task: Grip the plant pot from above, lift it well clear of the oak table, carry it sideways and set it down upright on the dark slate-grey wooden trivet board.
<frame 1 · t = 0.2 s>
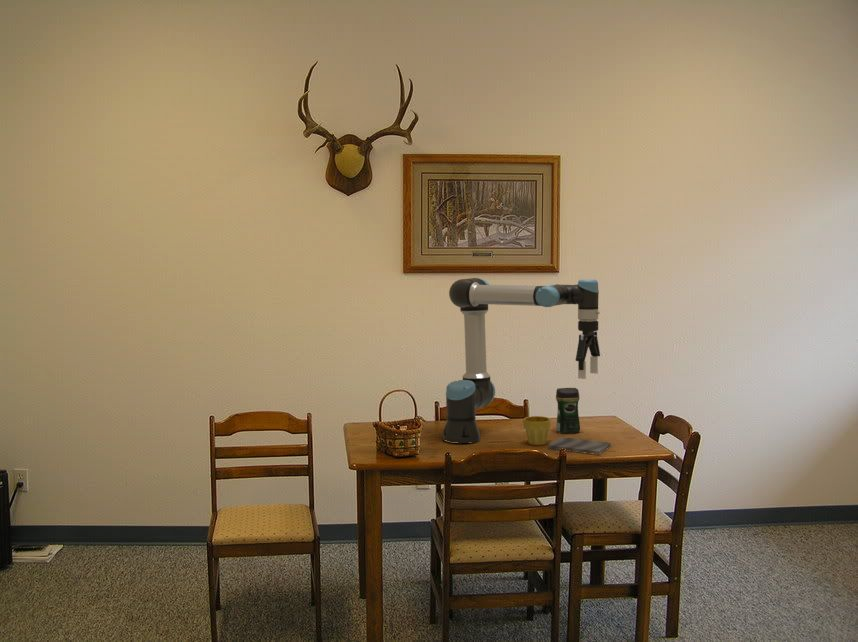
hand: (588, 375, 274), 27 cm above the table, tool pointing down, fingers open, 13 cm apart
plant pot: (537, 443, 283), on the table
coffee jar: (567, 432, 300), on the table
trivet board: (579, 447, 275), on the table
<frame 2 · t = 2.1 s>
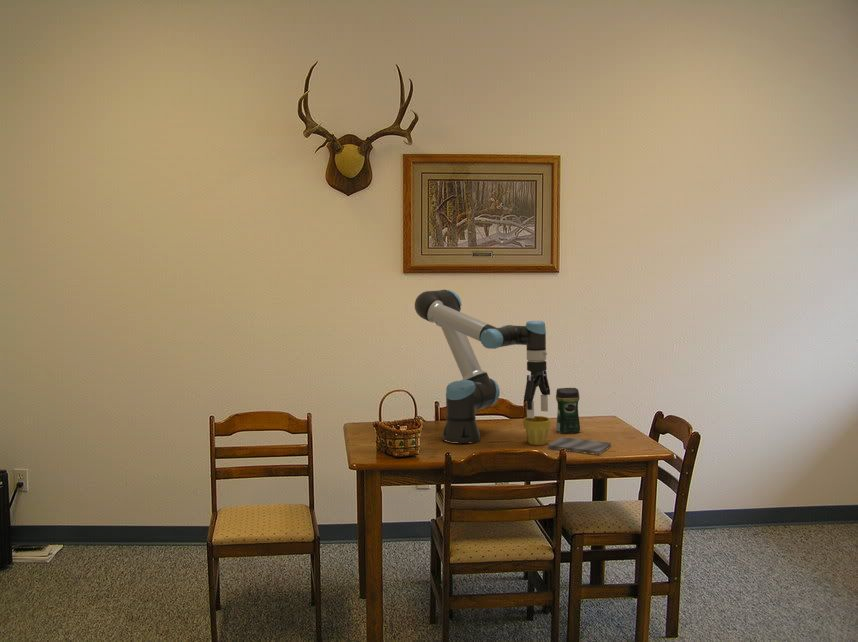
hand: (537, 414, 282), 11 cm above the table, tool pointing down, fingers open, 13 cm apart
nothing on the table moved.
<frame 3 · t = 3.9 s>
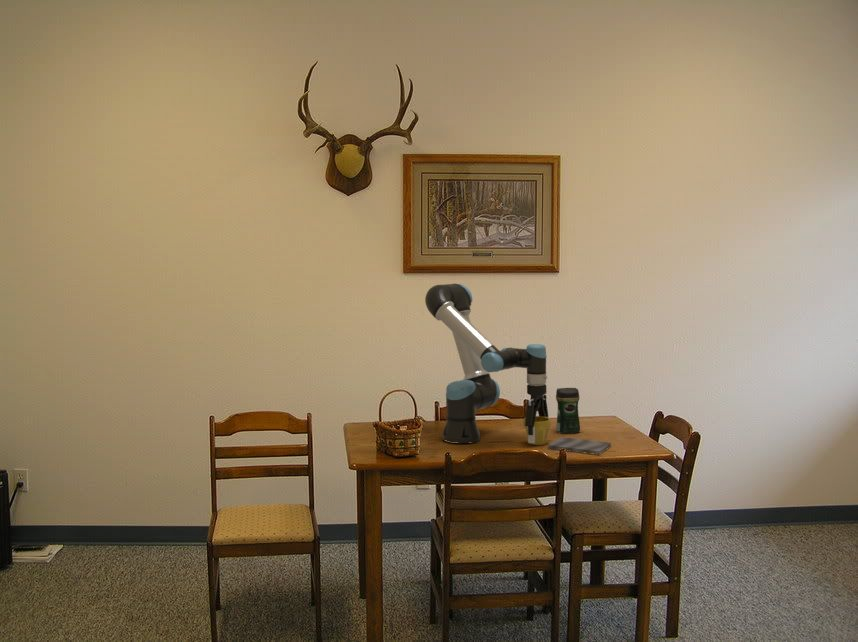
hand: (537, 439, 283), 1 cm above the table, tool pointing down, fingers closed on plant pot, 10 cm apart
plant pot: (537, 443, 283), on the table, touching gripper
everything else where it was.
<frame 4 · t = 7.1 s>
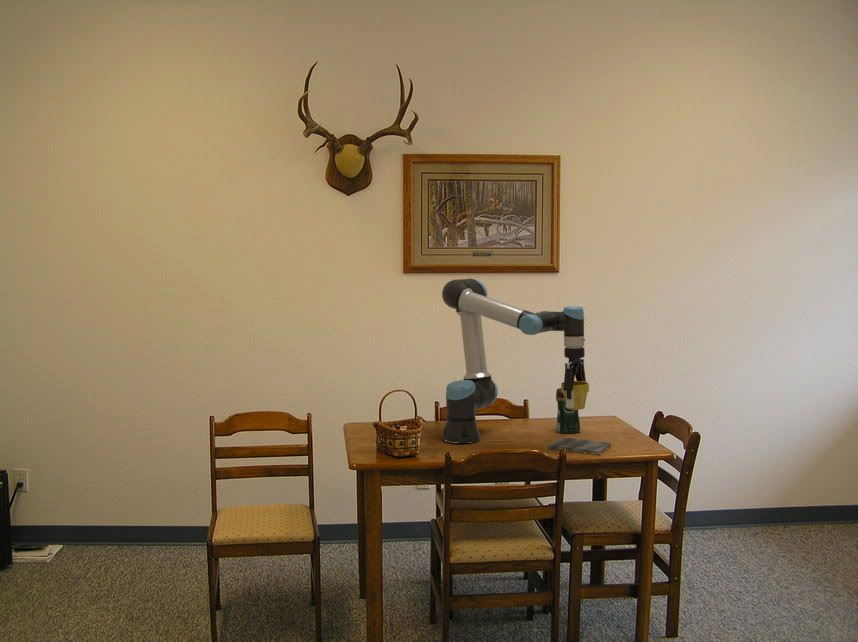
hand: (575, 404, 274), 16 cm above the table, tool pointing down, fingers closed on plant pot, 10 cm apart
plant pot: (575, 408, 274), point 15 cm above the table, touching gripper
everything else where it was.
when the fingers open (4 cm above the table, at t = 10.4 s): plant pot drops 1 cm, resting on trivet board.
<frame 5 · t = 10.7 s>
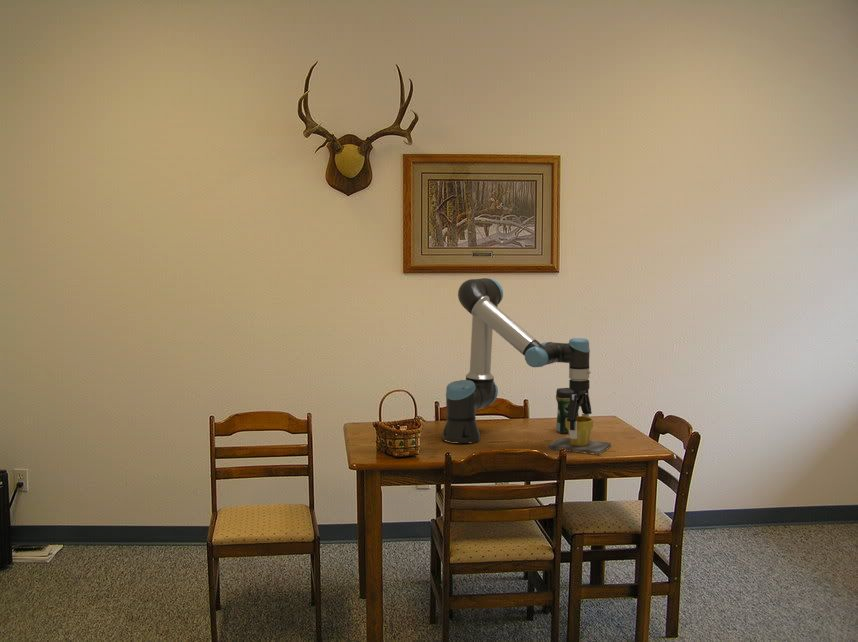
hand: (579, 434, 274), 5 cm above the table, tool pointing down, fingers open, 13 cm apart
plant pot: (579, 444, 274), point 1 cm above the table, touching trivet board
everything else where it was.
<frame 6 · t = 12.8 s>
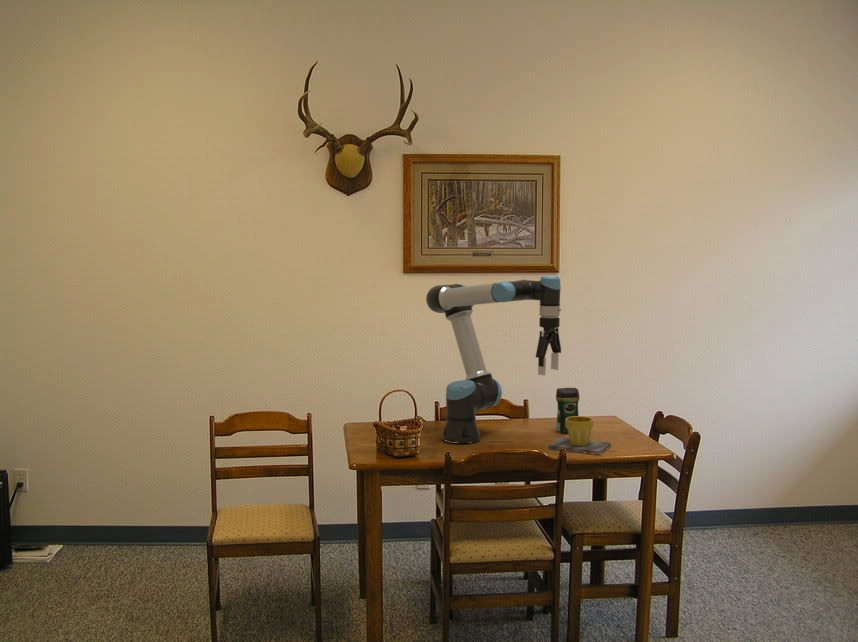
hand: (548, 372, 275), 29 cm above the table, tool pointing down, fingers open, 13 cm apart
nothing on the table moved.
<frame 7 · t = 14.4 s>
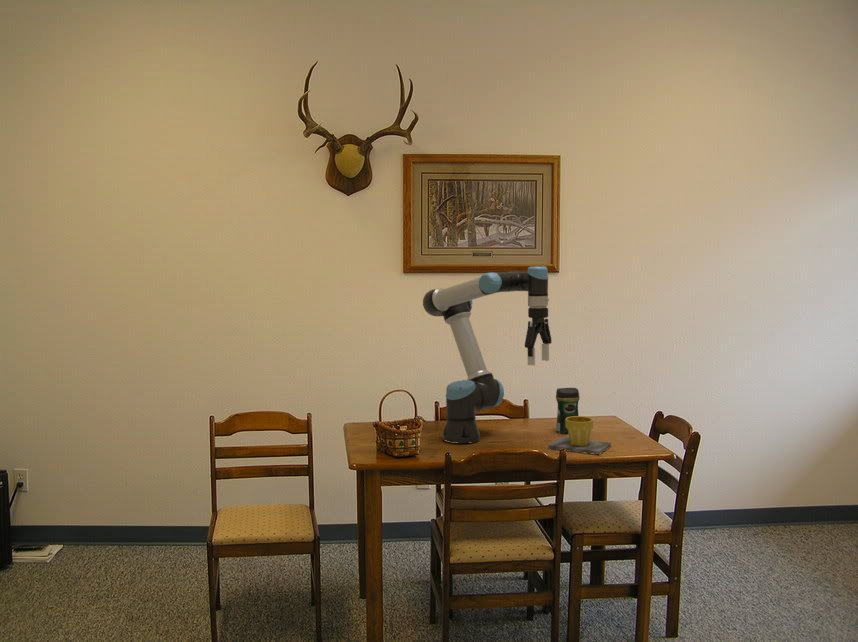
hand: (538, 362, 274), 33 cm above the table, tool pointing down, fingers open, 13 cm apart
nothing on the table moved.
at the end: plant pot inside the target area on the trivet board (0.2 cm from its centre), point 1.3 cm above the trivet board's base; plant pot tilted 0°; the gripper is holding nothing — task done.
